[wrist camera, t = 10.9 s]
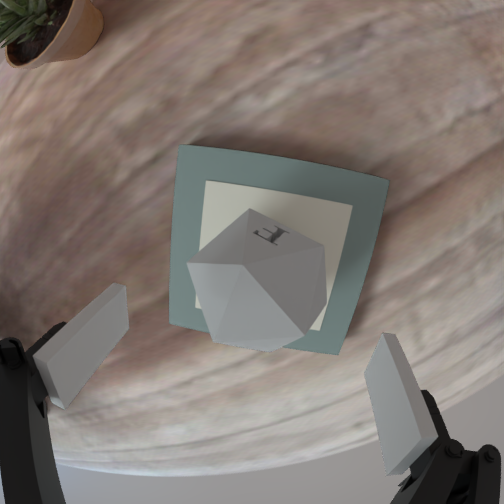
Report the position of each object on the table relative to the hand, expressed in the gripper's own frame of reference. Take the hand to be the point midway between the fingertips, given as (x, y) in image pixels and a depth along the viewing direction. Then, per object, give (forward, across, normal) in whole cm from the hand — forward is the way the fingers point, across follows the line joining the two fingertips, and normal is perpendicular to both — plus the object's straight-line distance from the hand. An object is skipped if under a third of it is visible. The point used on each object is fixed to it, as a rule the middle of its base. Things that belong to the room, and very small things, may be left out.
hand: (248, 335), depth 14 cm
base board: (+12, 0, 0) cm, 12 cm away
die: (+10, 0, 0) cm, 10 cm away
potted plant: (+12, -22, +20) cm, 32 cm away
